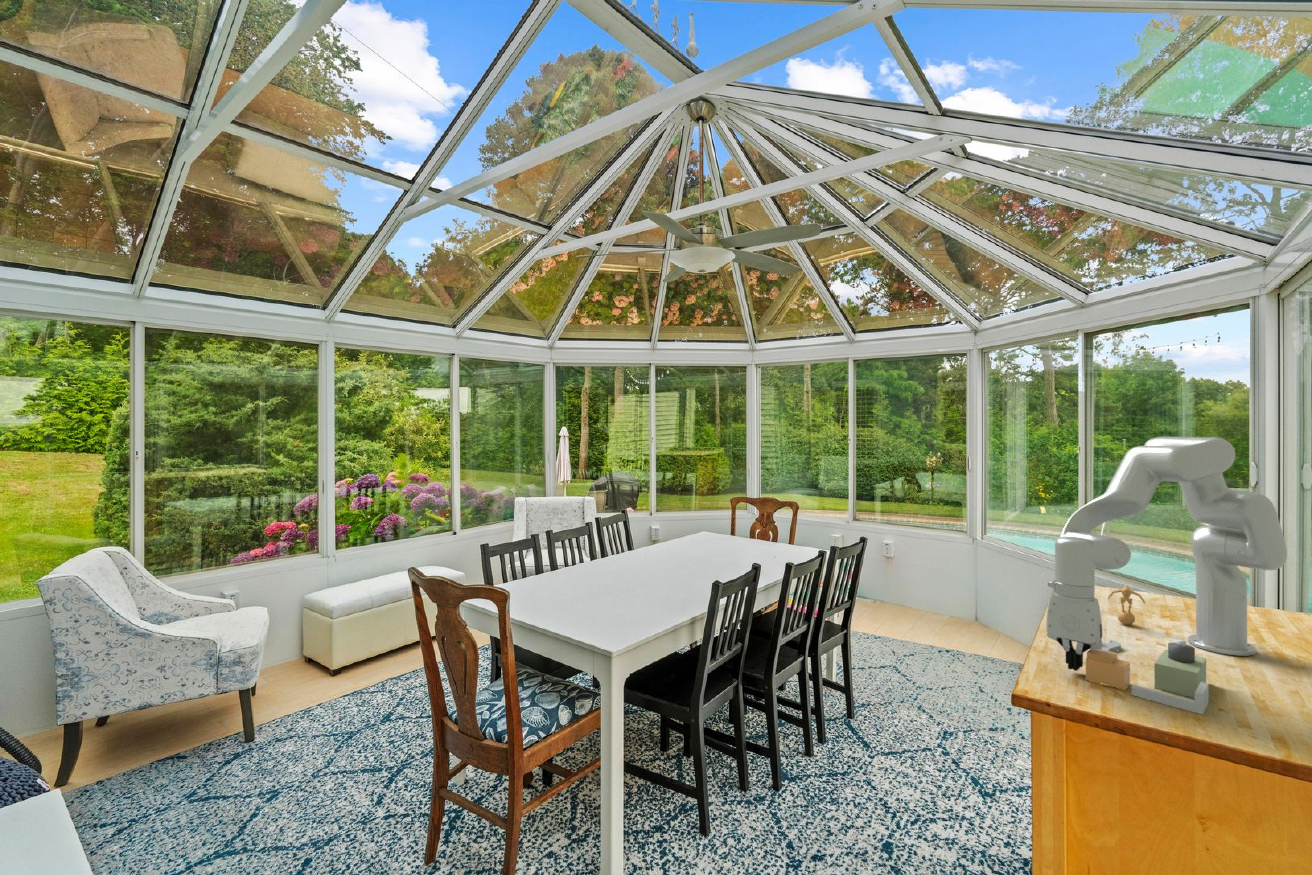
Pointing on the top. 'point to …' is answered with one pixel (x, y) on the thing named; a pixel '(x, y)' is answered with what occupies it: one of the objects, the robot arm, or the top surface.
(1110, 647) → the adjustable wrench
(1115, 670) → the stepped orange block
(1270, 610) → the top surface
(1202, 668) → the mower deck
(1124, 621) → the figurine
